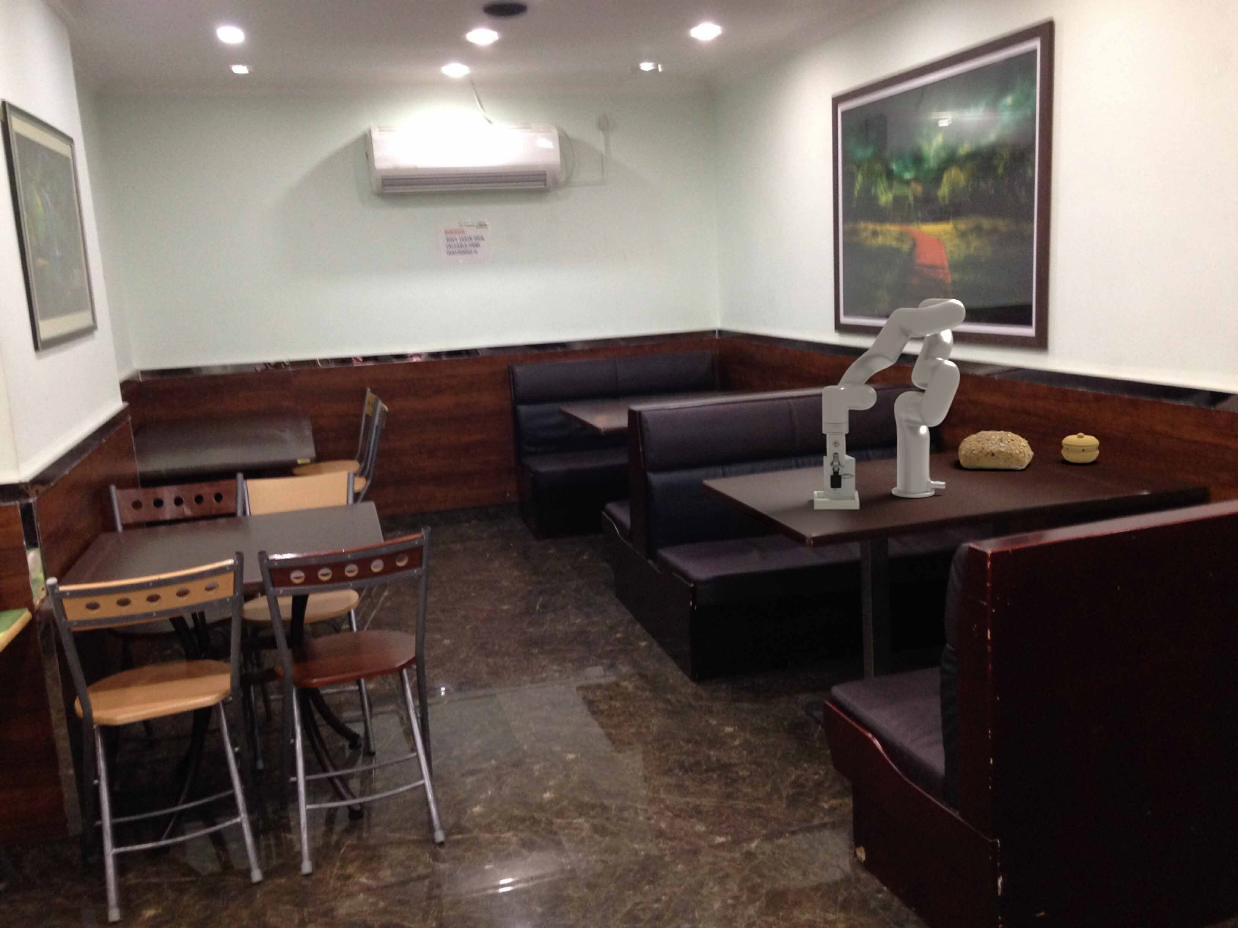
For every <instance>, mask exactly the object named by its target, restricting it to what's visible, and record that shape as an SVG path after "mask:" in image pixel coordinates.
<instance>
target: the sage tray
mask: <svg viewBox="0 0 1238 928" xmlns="http://www.w3.org/2000/svg"><path fill="white" fill-rule="evenodd" d="M813 510H860V499H859V493H858V490H855V499H854V500H829V499H827V498H826V497H824V490H817V491H816V490H815V491H814V490H813Z"/></svg>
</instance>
